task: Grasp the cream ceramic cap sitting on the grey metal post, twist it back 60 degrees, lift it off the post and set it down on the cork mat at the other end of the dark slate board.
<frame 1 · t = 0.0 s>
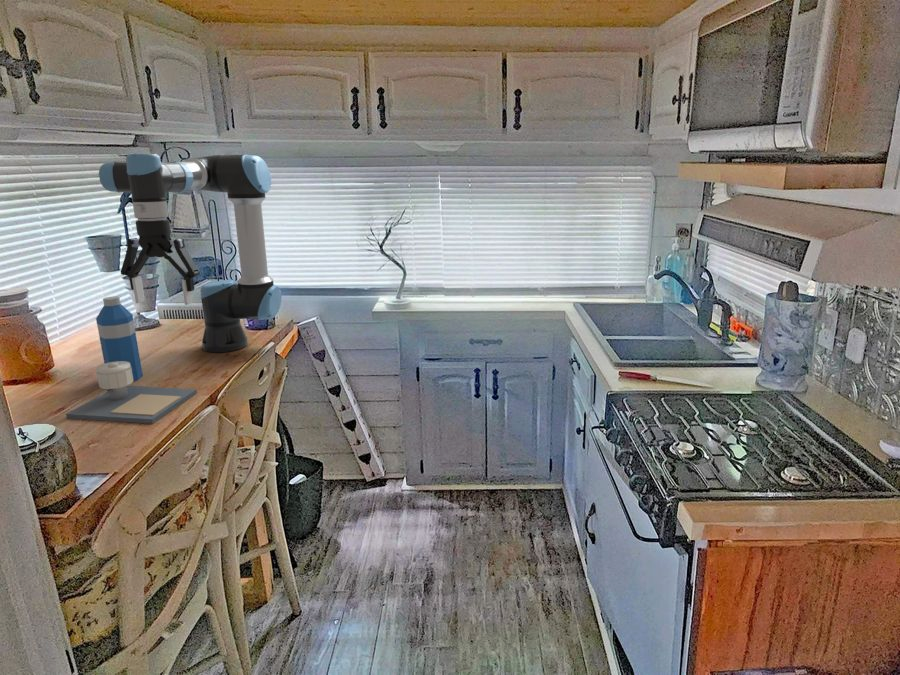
hand: (164, 302, 149), 28 cm above the table, fingers open, 13 cm apart
cap: (116, 383, 158), point 5 cm above the table, touching board
board: (135, 405, 156), on the table
water bottle: (125, 379, 176), on the table
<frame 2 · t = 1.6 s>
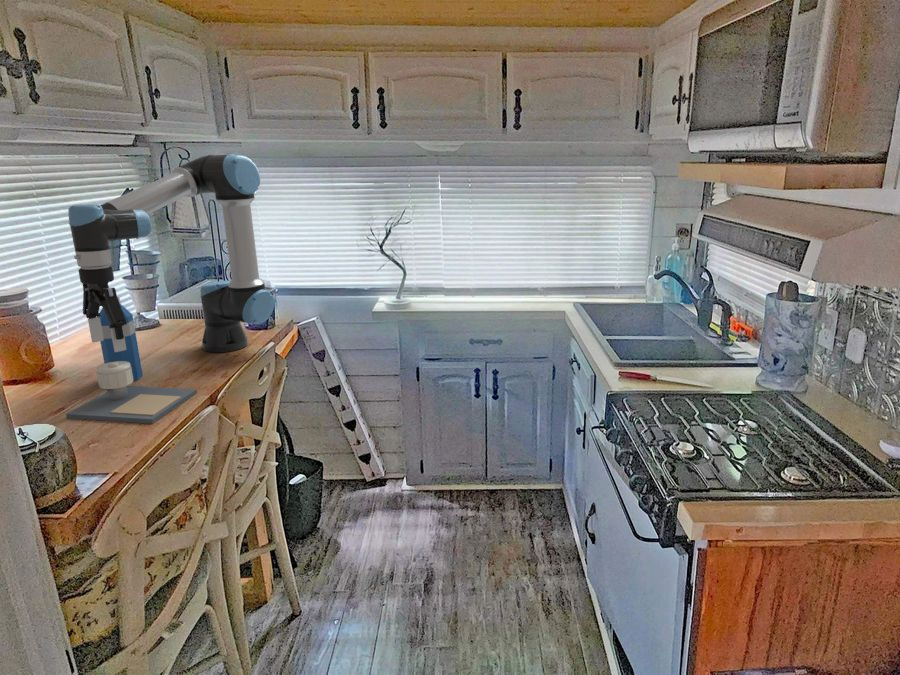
hand: (108, 346, 154), 16 cm above the table, fingers open, 13 cm apart
nothing on the table moved.
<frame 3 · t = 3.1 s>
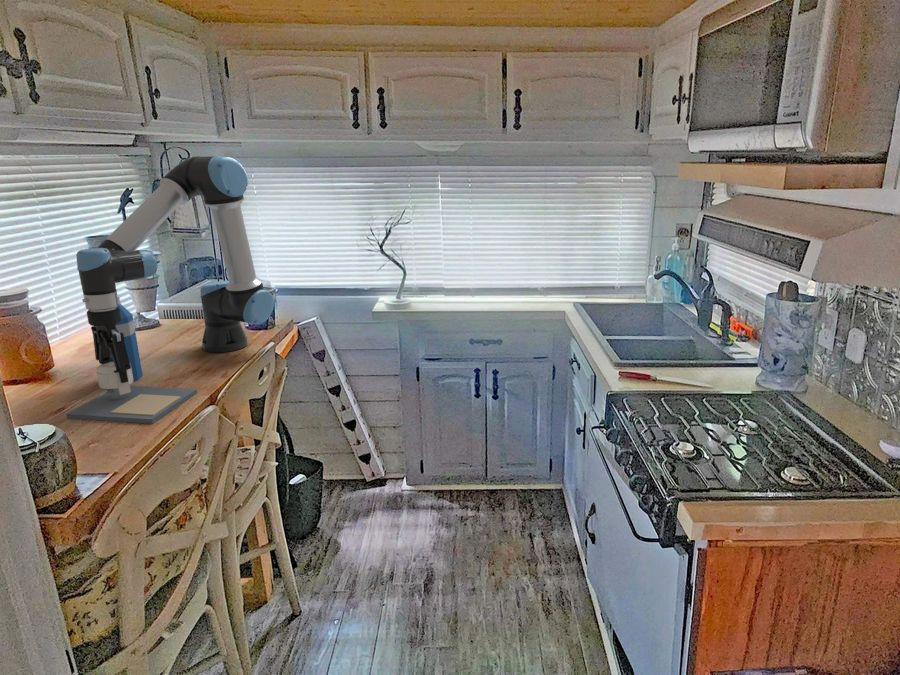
hand: (117, 389, 158), 3 cm above the table, fingers closed on cap, 8 cm apart
cap: (116, 383, 158), point 5 cm above the table, touching board, gripper
everything else where it was.
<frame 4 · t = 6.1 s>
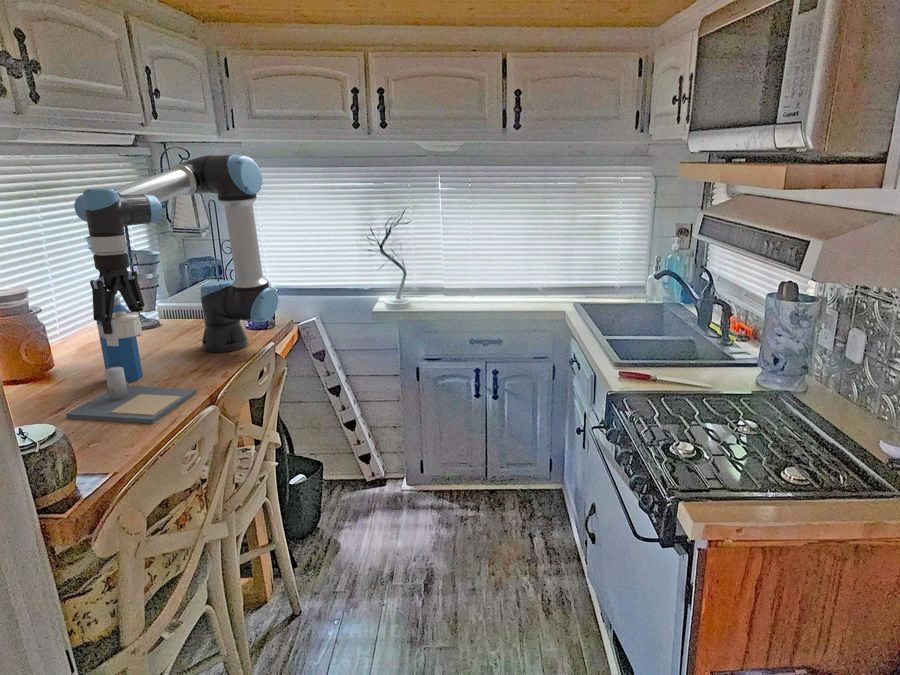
hand: (125, 340, 150), 19 cm above the table, fingers closed on cap, 8 cm apart
cap: (124, 334, 149), point 20 cm above the table, touching gripper
everything else where it was.
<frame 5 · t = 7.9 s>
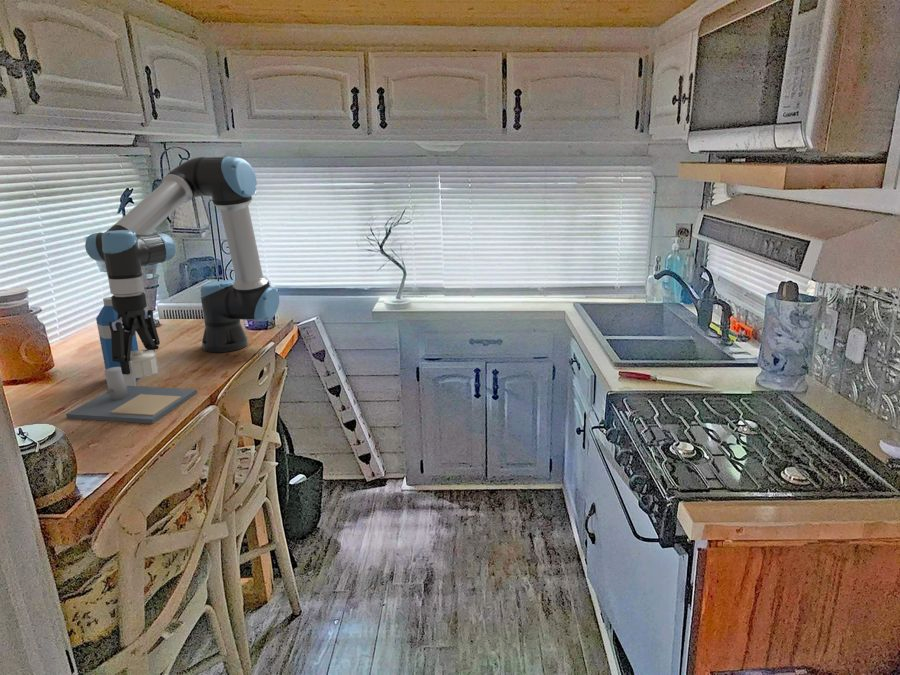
hand: (141, 379, 151), 9 cm above the table, fingers closed on cap, 8 cm apart
cap: (140, 372, 151), point 10 cm above the table, touching gripper
everything else where it was.
when the fingers open (2 cm above the table, at t = 9.3 s): cap drops 2 cm, resting on board.
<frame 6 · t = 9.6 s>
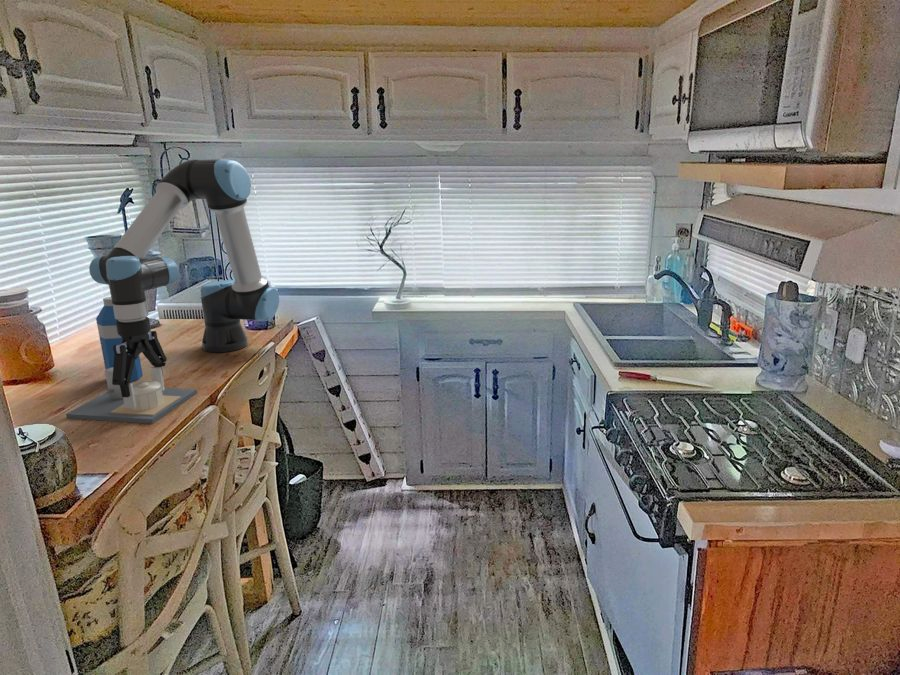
hand: (145, 398, 153), 3 cm above the table, fingers open, 11 cm apart
cap: (146, 403, 153), point 1 cm above the table, touching board
everything else where it was.
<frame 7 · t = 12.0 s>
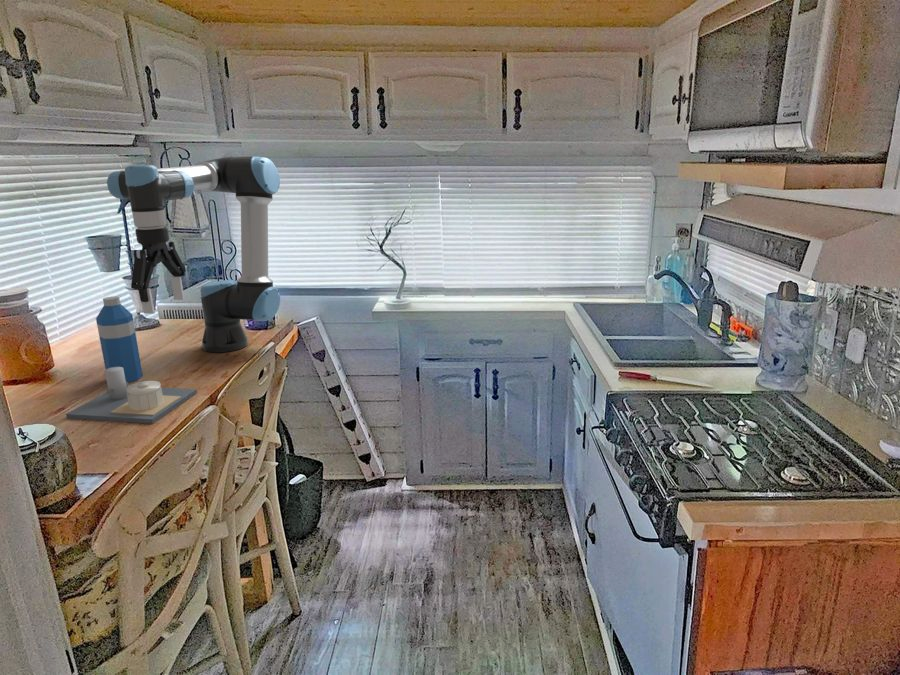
hand: (165, 306, 157), 25 cm above the table, fingers open, 13 cm apart
nothing on the table moved.
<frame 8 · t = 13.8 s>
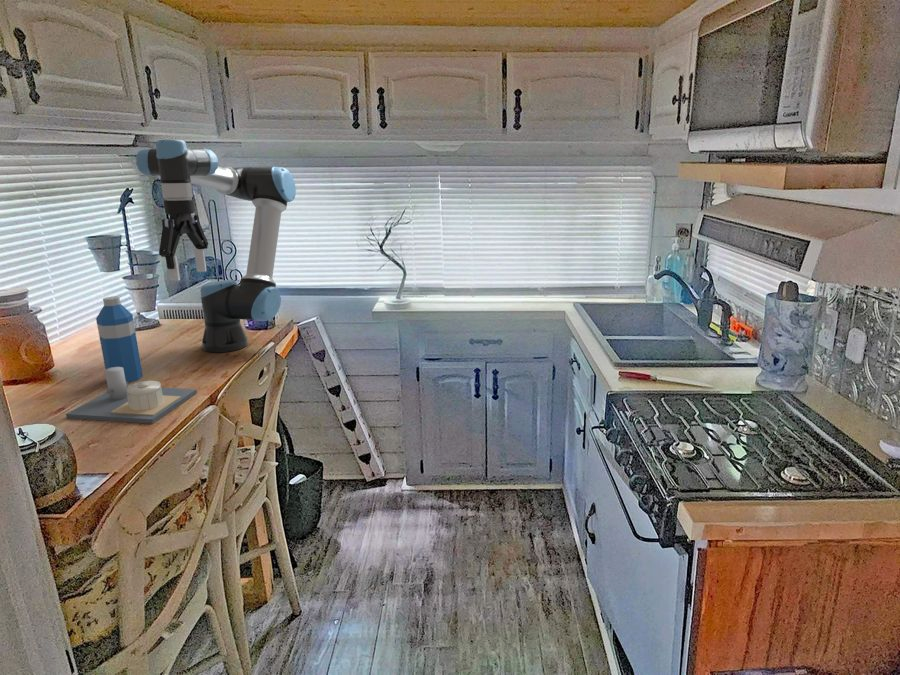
hand: (188, 275, 165), 32 cm above the table, fingers open, 13 cm apart
nothing on the table moved.
at the end: cap inside the target area on the board (0.0 cm from its centre), point 1.5 cm above the board's base; cap tilted 0°; the gripper is holding nothing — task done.
